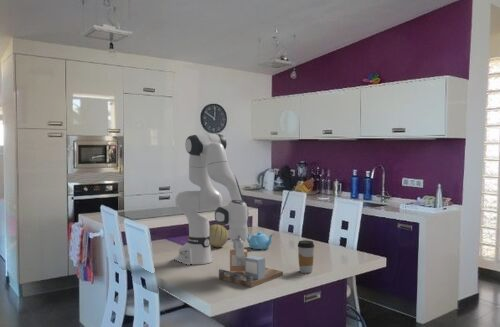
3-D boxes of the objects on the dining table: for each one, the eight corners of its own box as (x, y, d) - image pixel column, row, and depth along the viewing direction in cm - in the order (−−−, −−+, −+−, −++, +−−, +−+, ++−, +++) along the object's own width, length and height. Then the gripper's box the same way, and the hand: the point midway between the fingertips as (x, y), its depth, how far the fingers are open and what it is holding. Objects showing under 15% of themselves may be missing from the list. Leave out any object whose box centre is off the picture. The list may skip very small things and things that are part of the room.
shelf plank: (218, 279, 199) (218, 269, 199) (251, 268, 218) (251, 259, 218) (250, 287, 186) (250, 277, 186) (282, 275, 205) (282, 266, 205)
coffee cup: (317, 272, 209) (317, 242, 209) (302, 274, 207) (302, 244, 206) (309, 268, 217) (309, 239, 217) (294, 270, 214) (294, 240, 214)
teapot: (266, 245, 275) (266, 229, 274) (274, 250, 260) (274, 233, 260) (244, 246, 270) (244, 230, 270) (252, 251, 256) (252, 234, 256)
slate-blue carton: (251, 274, 200) (251, 255, 200) (265, 277, 195) (265, 258, 195) (244, 276, 196) (244, 257, 196) (257, 280, 191) (257, 260, 191)
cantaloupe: (202, 249, 262) (202, 225, 262) (207, 244, 277) (207, 221, 276) (226, 250, 260) (225, 225, 260) (229, 245, 275) (229, 222, 274)
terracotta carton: (229, 268, 204) (229, 249, 204) (246, 267, 205) (246, 249, 205) (230, 271, 199) (230, 252, 199) (247, 270, 200) (247, 251, 199)
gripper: (247, 238, 192) (247, 268, 192) (243, 230, 212) (243, 257, 212) (233, 238, 191) (233, 269, 191) (230, 230, 211) (230, 258, 212)
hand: (238, 263), depth 202 cm, fingers closed on terracotta carton, 5 cm apart
